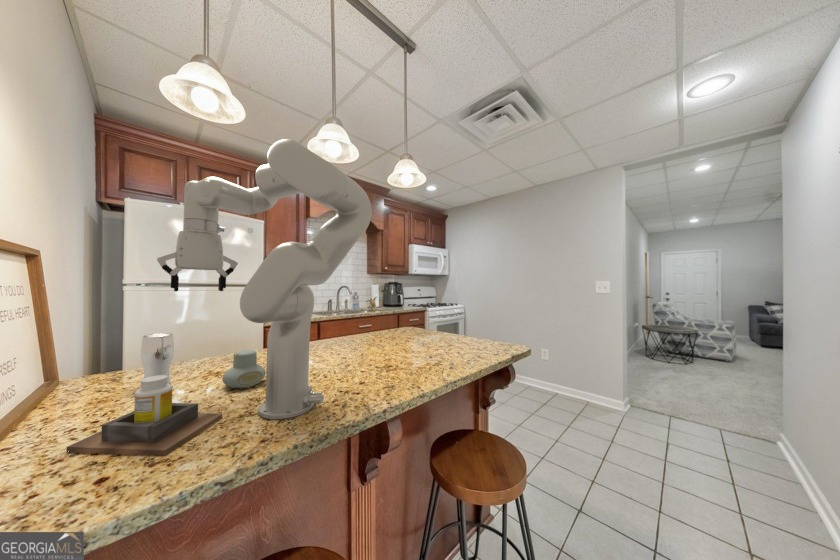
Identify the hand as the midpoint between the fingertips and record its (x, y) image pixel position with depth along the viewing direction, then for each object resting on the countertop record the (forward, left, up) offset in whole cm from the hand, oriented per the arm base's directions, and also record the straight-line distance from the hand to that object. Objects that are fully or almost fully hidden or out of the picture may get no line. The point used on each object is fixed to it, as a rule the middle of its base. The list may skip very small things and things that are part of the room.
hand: (199, 291), depth 77 cm
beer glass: (+16, -5, -28) cm, 33 cm away
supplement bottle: (-7, +19, -28) cm, 34 cm away
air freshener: (-8, -8, -29) cm, 31 cm away
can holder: (-7, +19, -28) cm, 35 cm away
